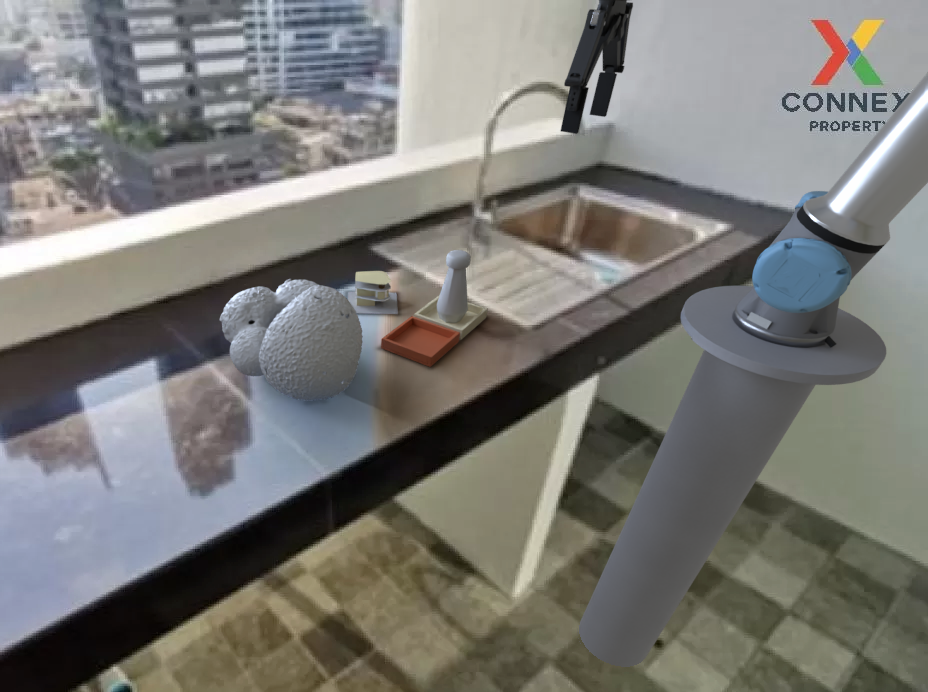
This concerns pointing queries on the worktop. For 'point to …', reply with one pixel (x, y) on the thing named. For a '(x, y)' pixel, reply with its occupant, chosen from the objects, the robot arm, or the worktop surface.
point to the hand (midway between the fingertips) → (584, 123)
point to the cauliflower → (295, 338)
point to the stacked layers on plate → (373, 294)
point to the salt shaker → (454, 288)
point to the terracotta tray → (420, 340)
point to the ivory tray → (463, 326)
